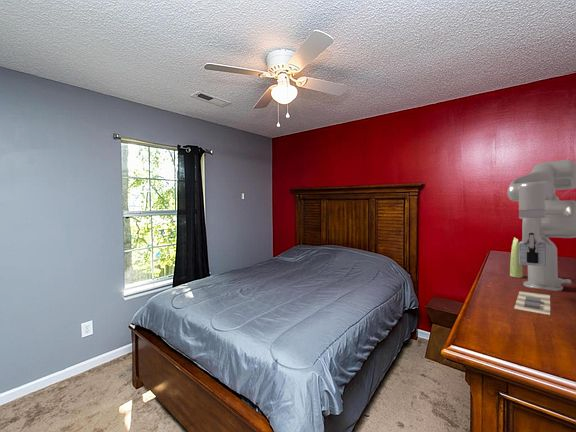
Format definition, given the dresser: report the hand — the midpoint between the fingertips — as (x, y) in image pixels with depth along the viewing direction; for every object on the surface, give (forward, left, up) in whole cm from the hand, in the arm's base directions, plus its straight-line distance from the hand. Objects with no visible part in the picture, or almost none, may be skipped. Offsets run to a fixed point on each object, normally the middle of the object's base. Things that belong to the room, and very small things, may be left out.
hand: (532, 261), depth 105 cm
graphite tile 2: (+4, +7, -13) cm, 16 cm away
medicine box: (0, 0, -2) cm, 2 cm away
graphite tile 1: (+8, +12, -13) cm, 19 cm away
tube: (-13, -34, -15) cm, 40 cm away
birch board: (+4, +7, -15) cm, 17 cm away
